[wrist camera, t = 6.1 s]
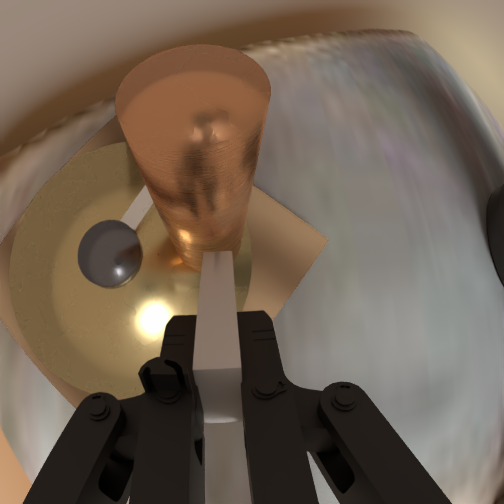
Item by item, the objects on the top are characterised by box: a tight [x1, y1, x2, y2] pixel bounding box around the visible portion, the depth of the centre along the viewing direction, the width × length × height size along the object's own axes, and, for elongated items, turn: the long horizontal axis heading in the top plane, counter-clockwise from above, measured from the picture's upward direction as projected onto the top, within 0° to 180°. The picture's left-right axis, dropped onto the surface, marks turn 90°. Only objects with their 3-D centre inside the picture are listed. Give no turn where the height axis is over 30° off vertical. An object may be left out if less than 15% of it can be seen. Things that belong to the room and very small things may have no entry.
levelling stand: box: [0, 115, 329, 409], centre depth 19 cm, size 20×20×5 cm
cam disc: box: [9, 44, 271, 398], centre depth 12 cm, size 17×17×14 cm
